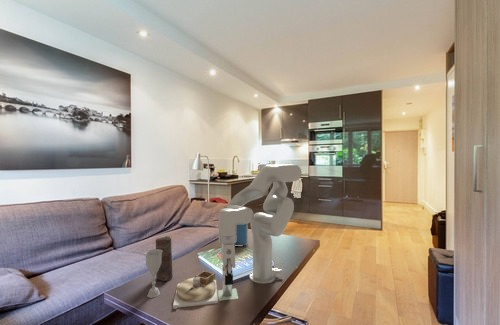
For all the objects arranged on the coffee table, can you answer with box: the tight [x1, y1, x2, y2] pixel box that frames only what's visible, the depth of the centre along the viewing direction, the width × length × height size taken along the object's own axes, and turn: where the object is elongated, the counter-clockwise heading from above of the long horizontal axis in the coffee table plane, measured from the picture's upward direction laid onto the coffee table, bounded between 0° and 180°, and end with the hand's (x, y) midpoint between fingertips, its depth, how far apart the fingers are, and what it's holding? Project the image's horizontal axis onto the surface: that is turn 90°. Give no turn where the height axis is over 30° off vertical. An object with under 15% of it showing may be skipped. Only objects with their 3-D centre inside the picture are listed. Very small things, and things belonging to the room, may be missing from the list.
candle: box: [155, 235, 173, 282], centre depth 115 cm, size 8×7×20 cm
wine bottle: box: [234, 223, 249, 246], centre depth 164 cm, size 14×13×30 cm
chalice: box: [144, 248, 163, 299], centre depth 101 cm, size 7×7×18 cm
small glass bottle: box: [222, 265, 233, 297], centre depth 100 cm, size 4×4×12 cm
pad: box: [217, 287, 239, 302], centre depth 100 cm, size 8×8×1 cm
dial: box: [176, 270, 217, 302], centre depth 101 cm, size 16×16×5 cm
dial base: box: [172, 279, 219, 310], centre depth 101 cm, size 17×17×2 cm
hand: (227, 278), depth 100 cm, fingers open, 9 cm apart
